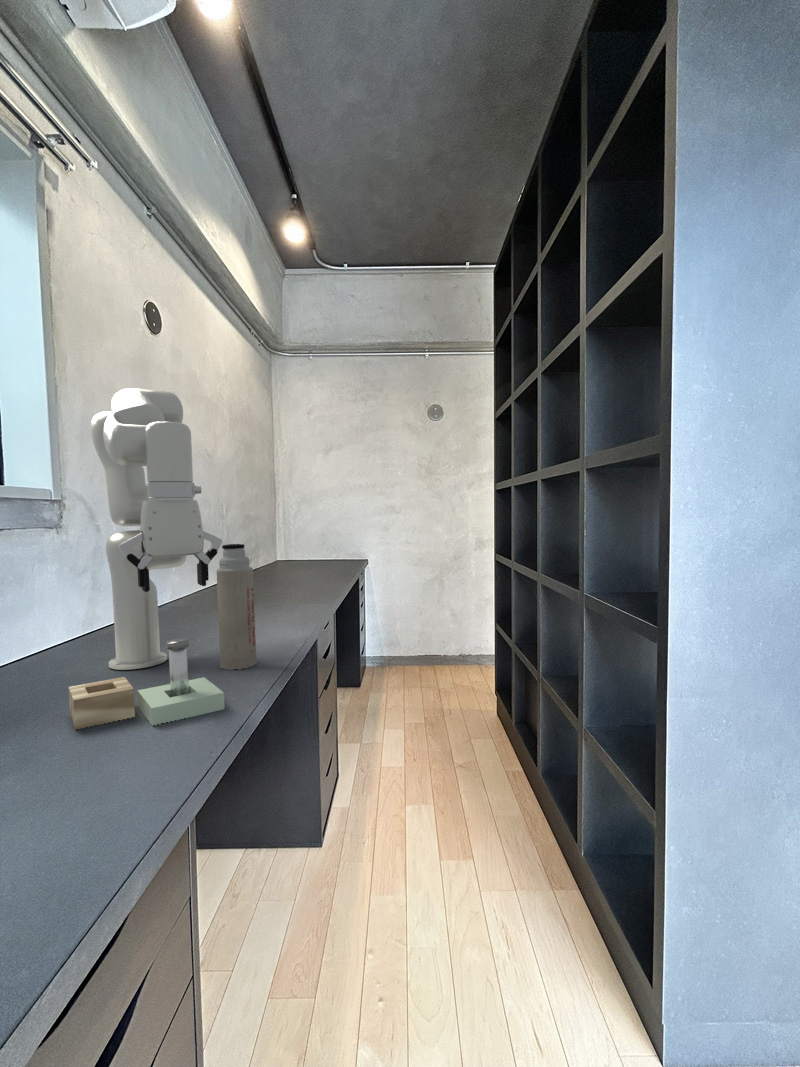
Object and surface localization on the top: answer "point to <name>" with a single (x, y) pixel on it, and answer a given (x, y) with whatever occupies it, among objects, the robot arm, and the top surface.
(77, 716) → the frame
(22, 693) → the top surface
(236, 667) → the thermos bottle
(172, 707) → the dock
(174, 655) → the pin
